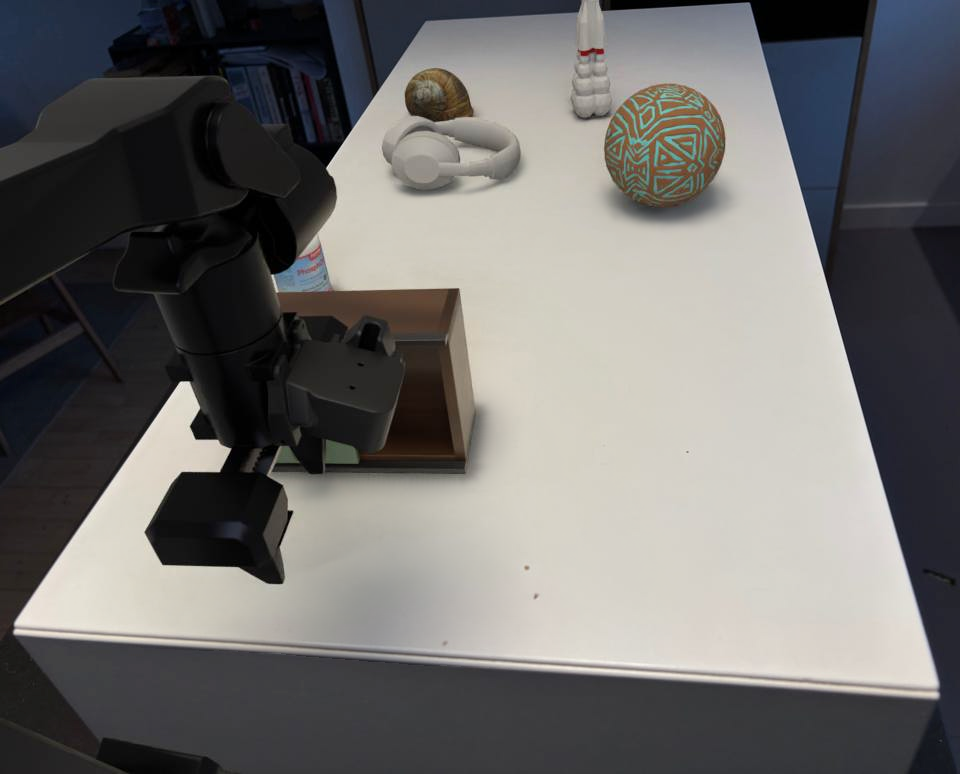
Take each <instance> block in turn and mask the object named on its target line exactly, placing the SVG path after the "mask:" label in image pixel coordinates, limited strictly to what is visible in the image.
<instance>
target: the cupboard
mask: <svg viewBox="0 0 960 774" xmlns="http://www.w3.org/2000/svg"><path fill="white" fill-rule="evenodd" d="M460 289H461V288H459V287H450V288H409V289H407V288H406V289H403V288H402V289H364V290H360V289H358V290H332V291H314V292H278V291H276V293H277V296H278V300H279V303H280V306H281V310H282V312H297V314H298V316H333V317H335V318H336V319H337V320H339V321H340V322H342V323H343V324H345V325H346V326H348V328H349V330H350V329H351V328H352V327H353V326H354V325H355V324H356V323H357V322H358V321H359V320H360V319H361V318H362V317H363V316H364V315H368V316H372V317H375V318H379V319H383V320H386V321H387V322H388V325H389V327H390V330H391V333H392V336H393V339H394V342H395V350H394V353H396V351H401V352H403V354H402V359H403V360H404V362H405V366H404V368H405V372H404V376H403V380H402V384H401V388H400V392H399V396H398V400H397V404H396V408H395V412H394V415H393V418H392V422H391V425H390V428H389V432H388V435H387V439H386V442H385V445H384V447H383V448H382V449H381V450H379V451H377V452H372V453H367V452H362V451H358V454H359V457H360V461H359V464H334V463H325V470H324V473H400V474H402V473H403V474H404V473H405V474H407V473H409V474H410V473H411V474H466V471H467V467H468V460H469V454H470V448H471V443H472V438H473V432H474V426H475V421H476V414H477V410H476V404H475V403H476V402H475V395H474V388H473V387H474V386H473V380H472V373H471V365H470V358H469V349H468V343H467V333H466V327H465V320H464V312H463V304H462V296H461V290H460ZM272 472H302V473H303V472H307V471H306V470H305V469H304V467H303V466H302V465H301V464H300V463H275V465H274V467H273V470H272ZM307 473H308V472H307Z"/></svg>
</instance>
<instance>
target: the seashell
mask: <svg viewBox="0 0 960 774" xmlns="http://www.w3.org/2000/svg"><path fill="white" fill-rule="evenodd" d="M404 103H405V107H406V110H407V112H408V114H409V116H419V117H423V118H426V119H428V120H430V121H433V122H434V123H435V122H442V121H449V120H455V118H461V117H472V115H474V108H473V106H472V102H471V98H470V95H469V91H468V90H467V88H466V86H465V84H464V83H463V82H462V81H461V80H460V78H459V77H458V76H457V75H455V74H454V73H453V72H451V71H449V70H448V69H444V68H439V67H431V68H426V69H424V70H423V69H422V71H421V70H420V71H419V72H417V73H415V75H413V76H412V78H411V79H409V82H408V83H407V85H406V87H405V90H404Z"/></svg>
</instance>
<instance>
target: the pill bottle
mask: <svg viewBox="0 0 960 774" xmlns="http://www.w3.org/2000/svg"><path fill="white" fill-rule="evenodd" d="M273 278H274V283H275V285H276V289H277V292H314V291H333V287H332V283H331V280H330V275H329V270H328V267H327V263H326V259H325V255H324V250H323V247H322V242H321V239H320V236H319V234H318V233H317V234H316V236H315V237H314V238H313V240H312V241H311V242H310V244H309V245H308V246H307V247H306V249H305V250H304V251H303V253H302V254H301V255H300V256H299V258H298V259H297V260H296V262H295V263H294V264H293V265H292V266H291V267H290V268H289V269H287V270H285V271H283V272H281V273H279V274H274V275H273Z"/></svg>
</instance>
